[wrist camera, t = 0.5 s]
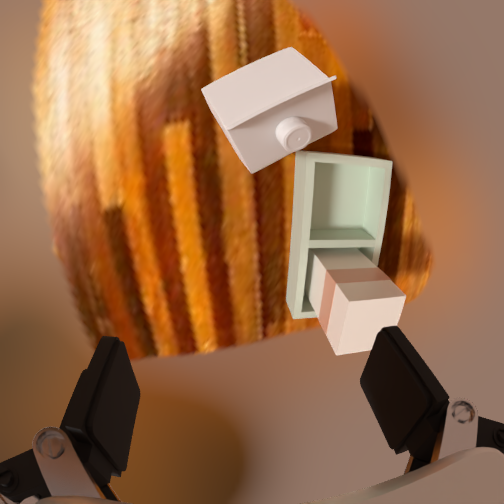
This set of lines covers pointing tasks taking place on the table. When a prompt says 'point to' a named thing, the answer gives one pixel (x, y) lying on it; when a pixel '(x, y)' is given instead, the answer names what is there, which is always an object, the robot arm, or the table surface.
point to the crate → (334, 213)
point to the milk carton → (273, 107)
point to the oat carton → (350, 297)
